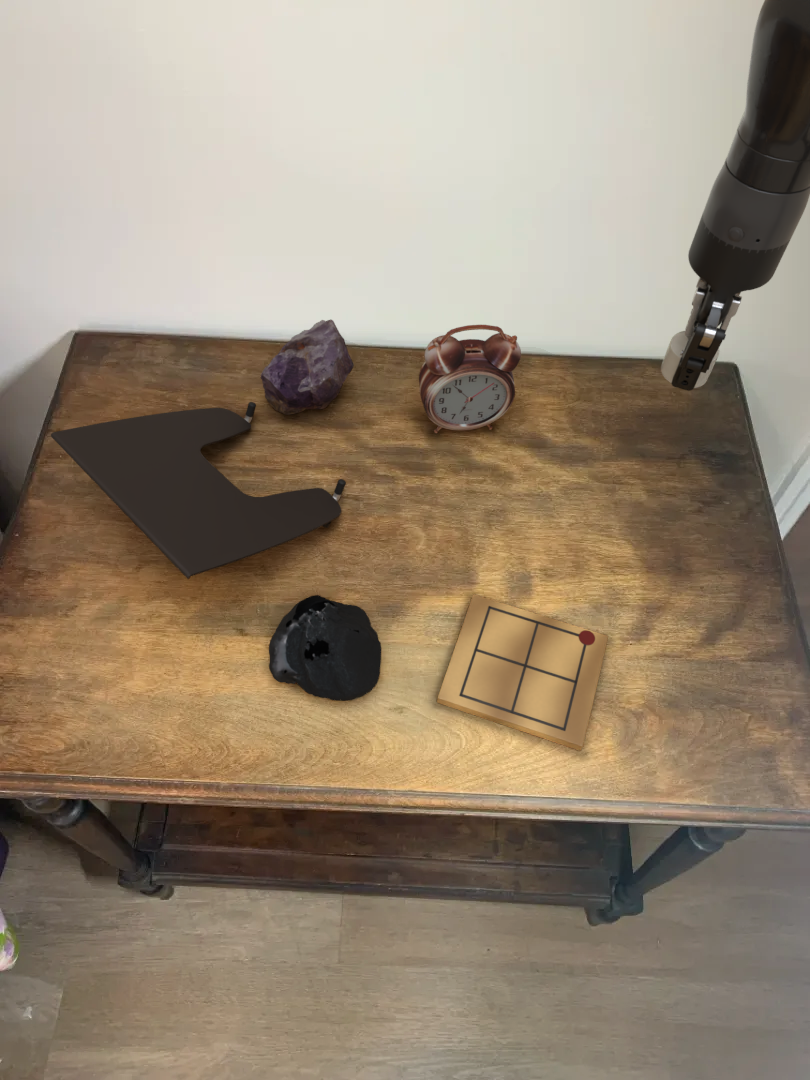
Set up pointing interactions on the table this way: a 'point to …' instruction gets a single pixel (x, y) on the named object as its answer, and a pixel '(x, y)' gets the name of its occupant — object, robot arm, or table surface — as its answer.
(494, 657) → the board
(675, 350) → the stone
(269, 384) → the rock
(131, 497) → the laptop tray
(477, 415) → the alarm clock
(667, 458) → the table surface
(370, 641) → the rock
